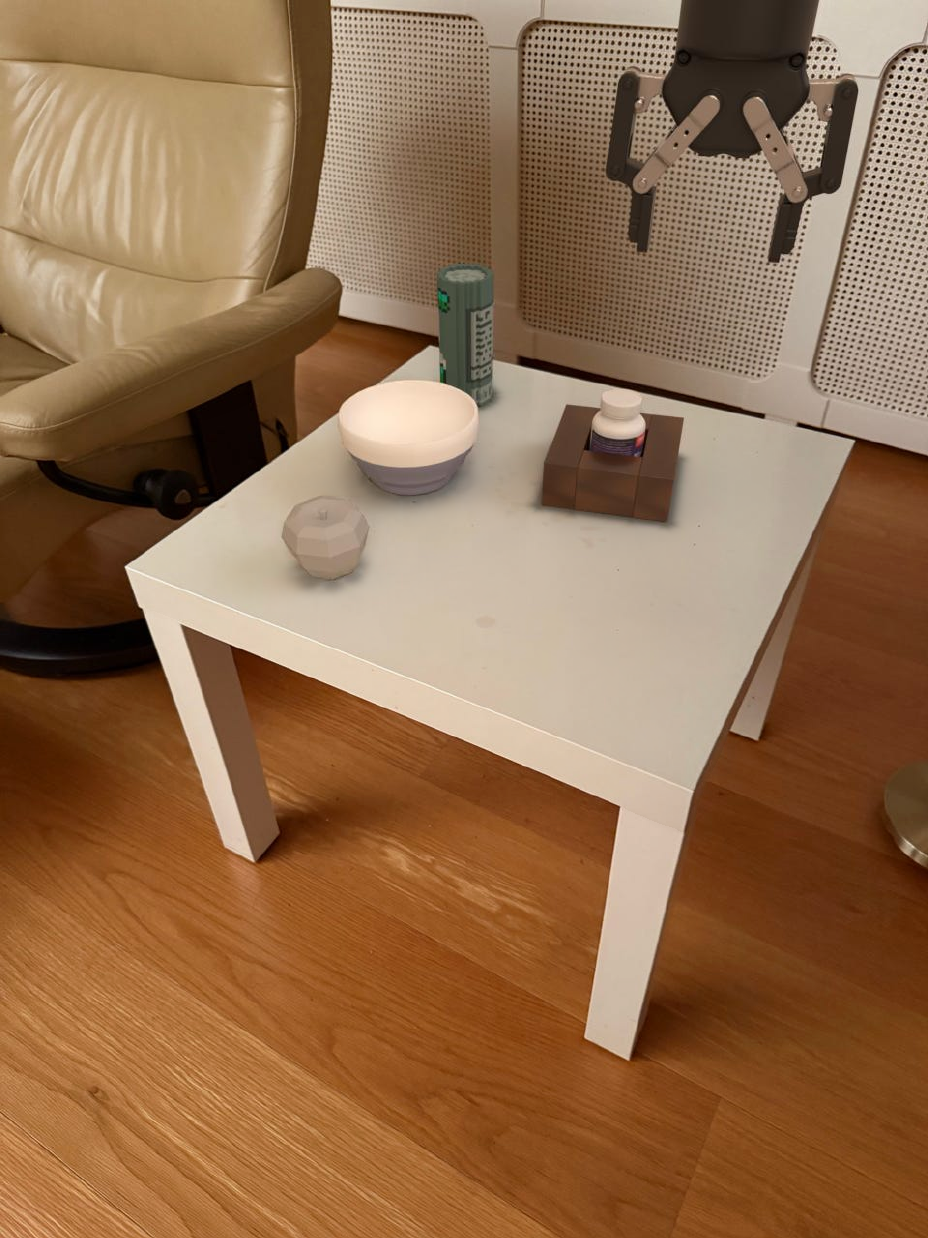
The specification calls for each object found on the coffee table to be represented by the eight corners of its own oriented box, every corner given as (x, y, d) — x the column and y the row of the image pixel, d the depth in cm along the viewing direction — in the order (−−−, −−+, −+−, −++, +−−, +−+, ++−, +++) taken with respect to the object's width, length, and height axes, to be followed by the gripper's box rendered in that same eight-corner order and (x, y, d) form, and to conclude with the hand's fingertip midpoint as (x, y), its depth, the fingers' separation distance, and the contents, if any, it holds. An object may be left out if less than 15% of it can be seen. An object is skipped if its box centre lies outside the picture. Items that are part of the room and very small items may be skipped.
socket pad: (677, 458, 97) (684, 417, 93) (666, 522, 87) (674, 479, 84) (563, 444, 99) (566, 403, 96) (541, 505, 90) (543, 462, 87)
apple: (390, 560, 83) (385, 502, 79) (336, 605, 78) (327, 545, 74) (326, 533, 87) (317, 476, 82) (270, 575, 82) (258, 516, 77)
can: (462, 380, 112) (460, 260, 102) (500, 394, 109) (503, 271, 99) (431, 398, 108) (426, 275, 98) (470, 413, 105) (469, 287, 95)
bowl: (470, 436, 101) (470, 374, 96) (488, 507, 90) (488, 440, 85) (343, 446, 100) (336, 383, 95) (345, 518, 89) (337, 451, 84)
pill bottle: (641, 495, 91) (652, 410, 85) (588, 495, 91) (596, 410, 85) (634, 468, 95) (645, 384, 89) (584, 468, 95) (592, 384, 89)
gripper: (618, -46, 47) (592, 265, 57) (903, -44, 44) (821, 283, 54) (634, -57, 52) (608, 229, 63) (889, -56, 49) (817, 243, 60)
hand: (707, 254), depth 59 cm, fingers open, 8 cm apart
